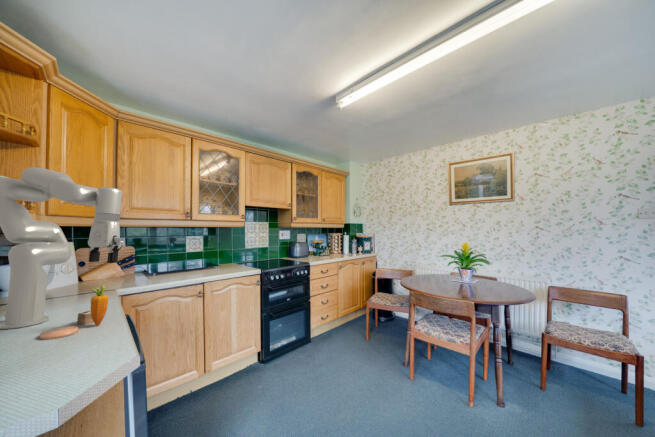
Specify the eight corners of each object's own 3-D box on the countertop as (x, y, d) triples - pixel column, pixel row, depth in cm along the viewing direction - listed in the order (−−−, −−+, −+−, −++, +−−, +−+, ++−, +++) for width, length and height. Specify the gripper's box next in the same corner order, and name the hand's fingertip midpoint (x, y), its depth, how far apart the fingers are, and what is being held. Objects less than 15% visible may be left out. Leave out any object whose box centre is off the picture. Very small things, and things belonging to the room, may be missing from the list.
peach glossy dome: (32, 338, 81) (32, 334, 81) (66, 328, 90) (67, 325, 90) (51, 340, 79) (51, 337, 79) (84, 330, 88) (84, 327, 88)
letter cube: (77, 324, 95) (78, 312, 95) (89, 320, 99) (90, 309, 99) (84, 325, 94) (85, 313, 94) (96, 321, 98) (97, 310, 98)
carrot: (95, 328, 90) (98, 287, 91) (84, 327, 91) (88, 286, 92) (109, 324, 95) (112, 285, 96) (99, 323, 96) (102, 284, 97)
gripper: (80, 218, 95) (75, 262, 93) (113, 217, 90) (108, 264, 89) (102, 219, 102) (98, 260, 101) (133, 219, 98) (129, 262, 96)
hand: (103, 262), depth 95 cm, fingers open, 9 cm apart
